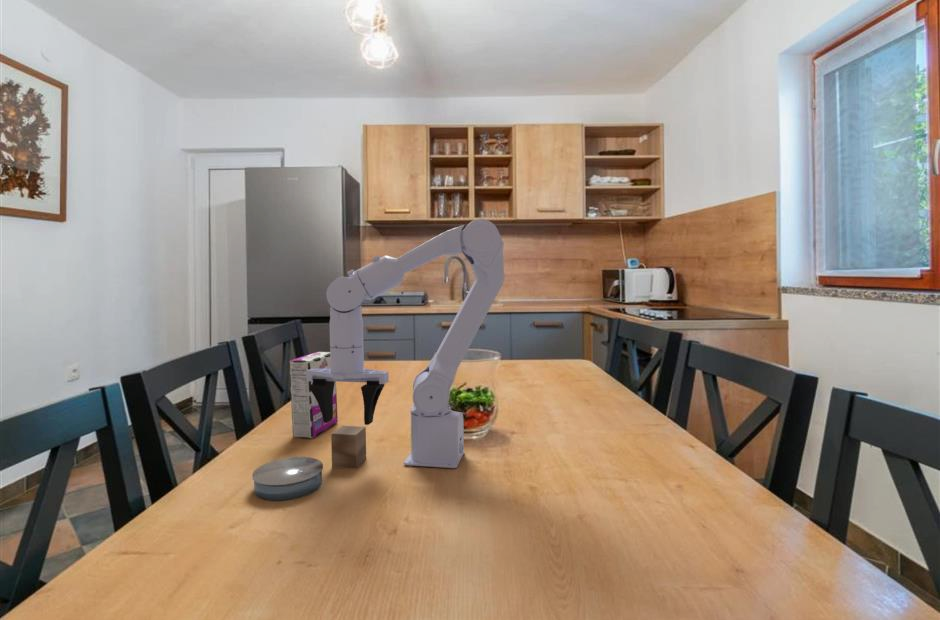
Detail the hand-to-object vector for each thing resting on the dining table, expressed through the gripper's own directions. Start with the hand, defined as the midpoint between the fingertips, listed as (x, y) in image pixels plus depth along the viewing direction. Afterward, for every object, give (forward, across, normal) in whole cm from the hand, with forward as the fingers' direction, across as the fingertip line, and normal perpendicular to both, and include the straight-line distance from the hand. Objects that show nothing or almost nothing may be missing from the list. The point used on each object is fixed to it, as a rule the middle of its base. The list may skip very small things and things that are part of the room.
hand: (348, 422), depth 83 cm
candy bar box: (+8, -15, +16) cm, 23 cm away
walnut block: (+8, 0, 0) cm, 8 cm away
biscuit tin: (+8, -5, -10) cm, 14 cm away
